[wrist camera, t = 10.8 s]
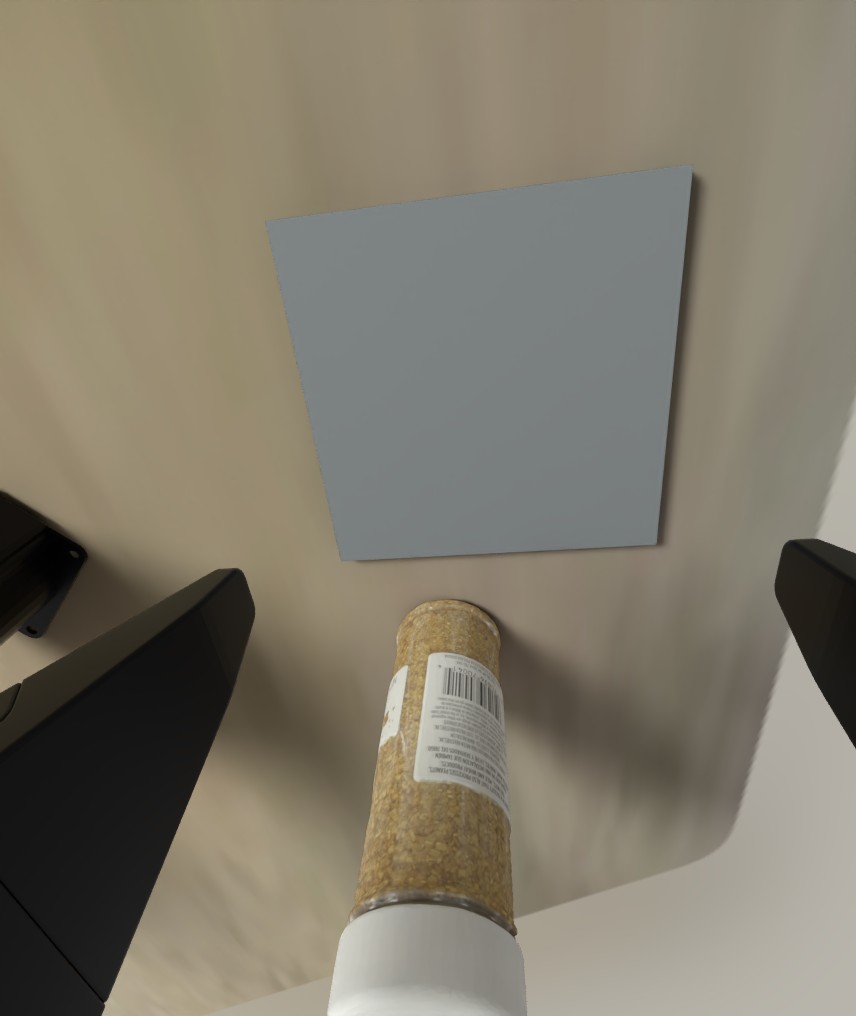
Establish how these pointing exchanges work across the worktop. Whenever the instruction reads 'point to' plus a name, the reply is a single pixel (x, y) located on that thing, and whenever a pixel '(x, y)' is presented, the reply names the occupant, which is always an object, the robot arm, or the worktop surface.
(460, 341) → the rest mat
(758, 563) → the worktop surface
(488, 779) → the sprinkles bottle
